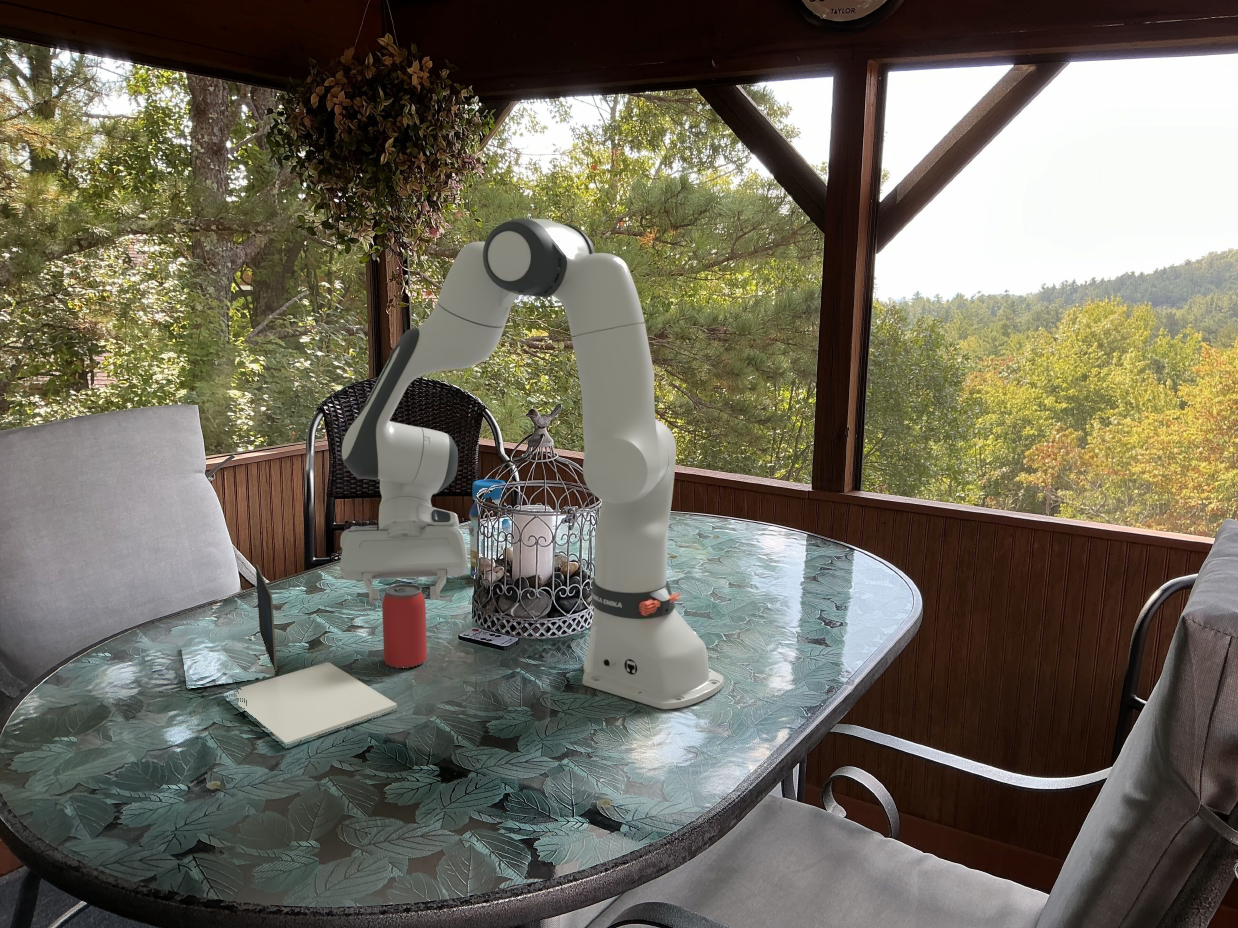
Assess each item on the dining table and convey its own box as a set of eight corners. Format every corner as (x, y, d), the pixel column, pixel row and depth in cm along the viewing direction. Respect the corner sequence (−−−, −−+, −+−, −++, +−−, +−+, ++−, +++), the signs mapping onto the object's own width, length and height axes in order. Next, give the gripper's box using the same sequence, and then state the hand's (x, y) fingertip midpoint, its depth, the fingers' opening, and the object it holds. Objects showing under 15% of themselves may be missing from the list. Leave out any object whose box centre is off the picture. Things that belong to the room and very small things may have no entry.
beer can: (409, 650, 146) (407, 579, 144) (435, 660, 142) (433, 588, 140) (375, 662, 141) (372, 589, 139) (401, 673, 137) (399, 599, 135)
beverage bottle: (503, 584, 180) (502, 487, 176) (463, 581, 182) (461, 485, 178) (516, 572, 188) (515, 479, 184) (478, 569, 190) (476, 477, 186)
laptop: (180, 650, 146) (174, 573, 143) (262, 637, 152) (258, 563, 149) (186, 693, 130) (179, 608, 128) (278, 677, 136) (273, 595, 134)
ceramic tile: (397, 710, 125) (396, 703, 125) (286, 749, 114) (285, 742, 114) (328, 667, 139) (328, 661, 139) (223, 699, 128) (223, 692, 128)
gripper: (339, 517, 146) (334, 594, 138) (466, 513, 150) (468, 588, 142) (343, 536, 151) (339, 611, 143) (466, 532, 155) (468, 605, 147)
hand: (404, 600), depth 143 cm, fingers open, 8 cm apart
